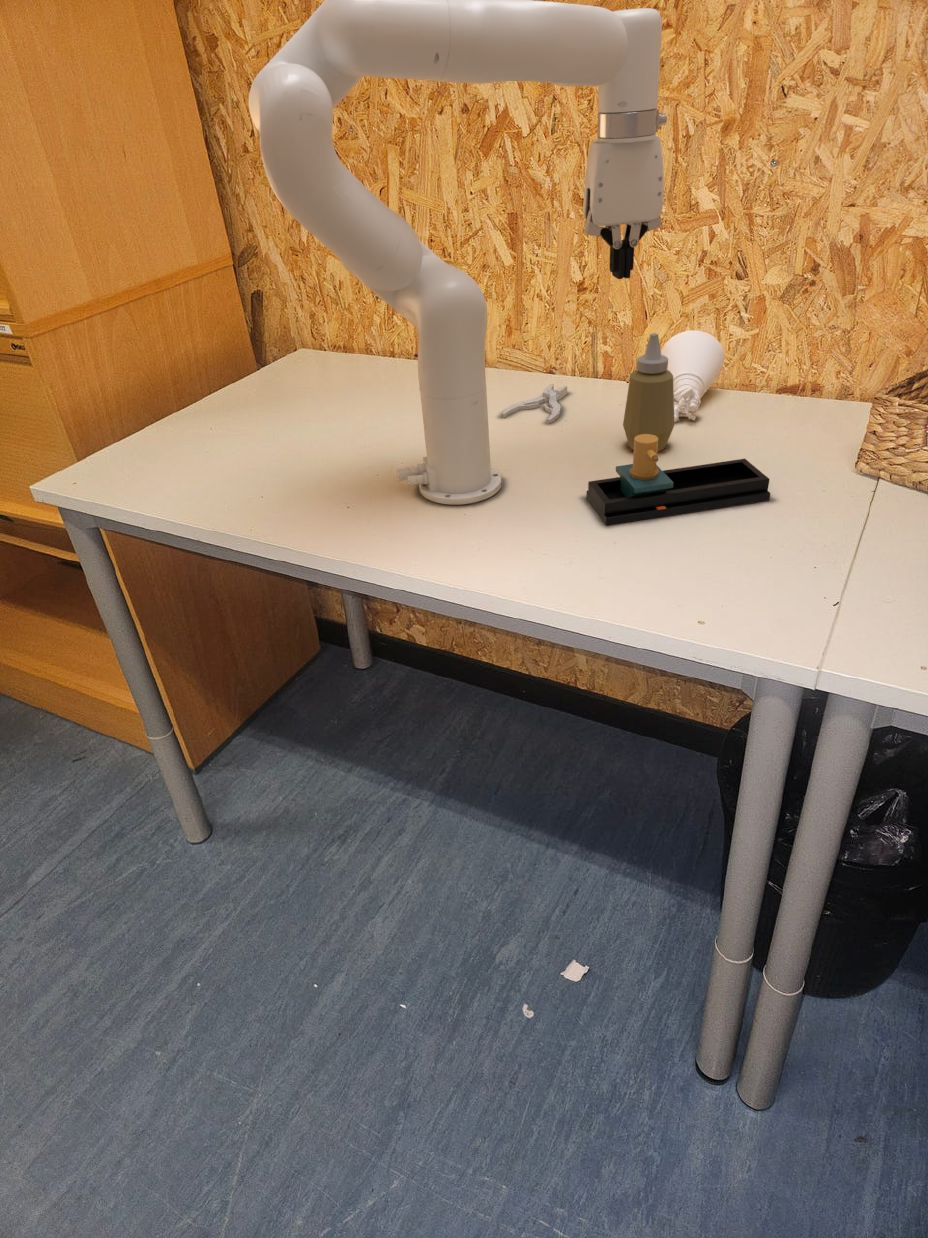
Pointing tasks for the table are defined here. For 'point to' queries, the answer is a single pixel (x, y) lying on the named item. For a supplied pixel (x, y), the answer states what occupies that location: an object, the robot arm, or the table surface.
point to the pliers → (548, 396)
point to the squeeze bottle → (650, 397)
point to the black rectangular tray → (682, 492)
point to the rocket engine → (692, 368)
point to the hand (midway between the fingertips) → (621, 276)
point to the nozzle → (643, 469)
